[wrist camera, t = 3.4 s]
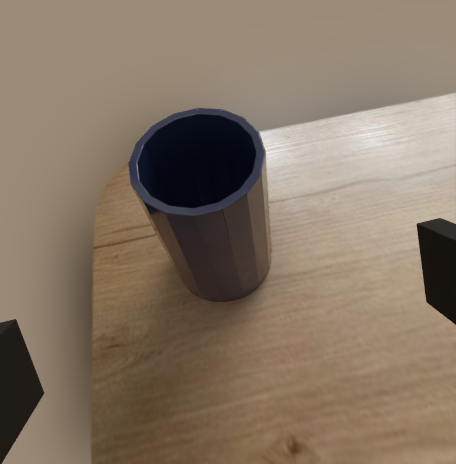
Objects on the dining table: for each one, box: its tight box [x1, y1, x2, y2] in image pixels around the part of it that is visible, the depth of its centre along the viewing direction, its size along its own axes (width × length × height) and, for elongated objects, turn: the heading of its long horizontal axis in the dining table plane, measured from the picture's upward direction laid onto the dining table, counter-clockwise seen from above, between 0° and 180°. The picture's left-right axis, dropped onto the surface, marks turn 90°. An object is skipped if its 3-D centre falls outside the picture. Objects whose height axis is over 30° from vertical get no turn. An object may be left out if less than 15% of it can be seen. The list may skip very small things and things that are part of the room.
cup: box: [129, 108, 272, 302], centre depth 28 cm, size 7×7×12 cm
